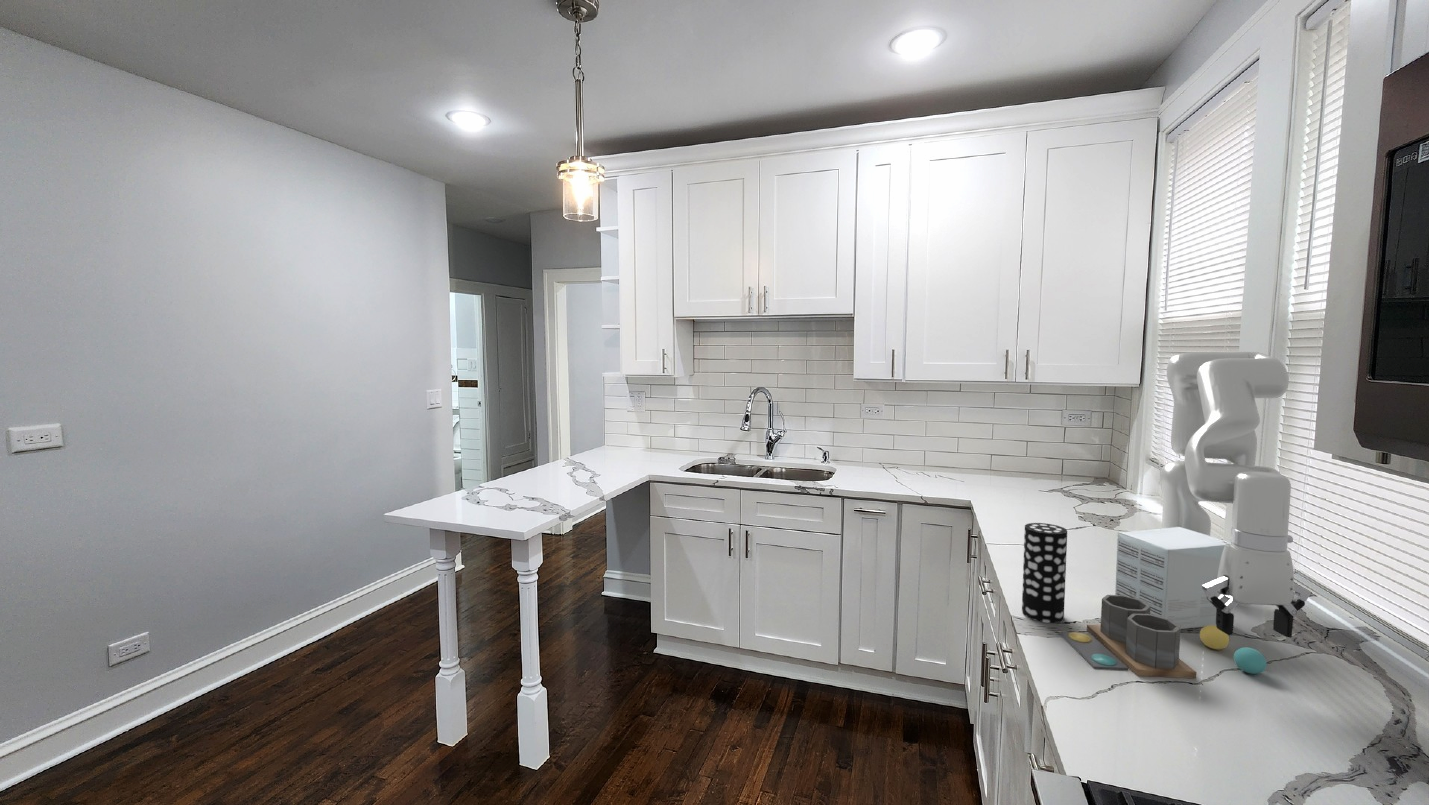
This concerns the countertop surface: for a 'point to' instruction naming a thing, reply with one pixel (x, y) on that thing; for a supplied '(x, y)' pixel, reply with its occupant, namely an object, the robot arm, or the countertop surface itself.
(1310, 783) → the countertop surface
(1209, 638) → the ochre ball
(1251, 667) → the teal ball
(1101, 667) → the card
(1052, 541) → the spotted tube
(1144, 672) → the double cup sorting tray
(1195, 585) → the supplement box
